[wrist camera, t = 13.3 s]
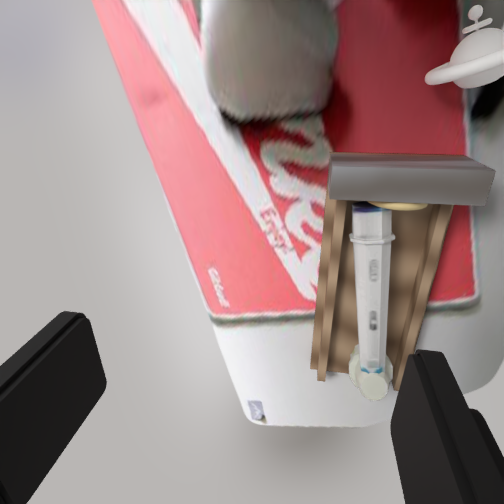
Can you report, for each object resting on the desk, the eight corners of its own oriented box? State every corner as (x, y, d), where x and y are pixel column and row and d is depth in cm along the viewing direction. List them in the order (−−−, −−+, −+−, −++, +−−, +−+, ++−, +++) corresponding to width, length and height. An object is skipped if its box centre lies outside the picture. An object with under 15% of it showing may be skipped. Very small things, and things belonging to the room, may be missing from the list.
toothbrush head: (403, 205, 32) (399, 417, 39) (389, 194, 38) (388, 379, 45) (346, 209, 33) (352, 414, 40) (342, 198, 39) (348, 378, 47)
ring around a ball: (417, 100, 32) (445, 105, 25) (406, 35, 30) (433, 21, 23) (514, 65, 30) (575, 60, 23) (509, -8, 28) (574, -39, 21)
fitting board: (330, 151, 36) (332, 166, 29) (463, 154, 34) (495, 170, 27) (310, 363, 49) (309, 403, 43) (404, 375, 47) (418, 418, 41)
